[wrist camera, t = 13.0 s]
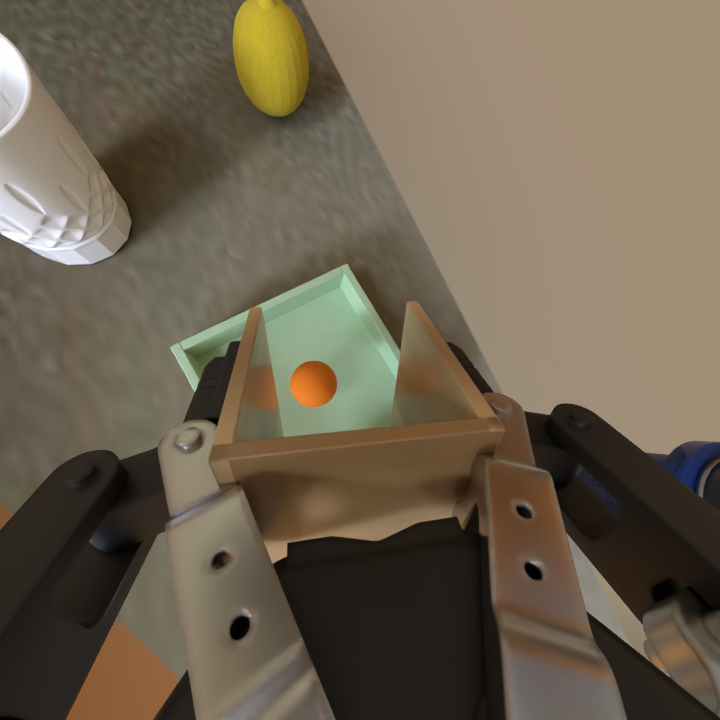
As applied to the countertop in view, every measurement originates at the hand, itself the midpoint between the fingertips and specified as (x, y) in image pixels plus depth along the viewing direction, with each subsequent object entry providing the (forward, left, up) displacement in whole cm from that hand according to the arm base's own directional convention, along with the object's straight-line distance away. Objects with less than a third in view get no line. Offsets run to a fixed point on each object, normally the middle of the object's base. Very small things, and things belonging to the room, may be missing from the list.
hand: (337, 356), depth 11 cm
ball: (0, 0, -9) cm, 9 cm away
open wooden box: (+3, +6, -4) cm, 7 cm away
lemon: (-9, -23, -13) cm, 28 cm away
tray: (0, 0, -13) cm, 13 cm away
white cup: (+9, -19, -13) cm, 25 cm away
